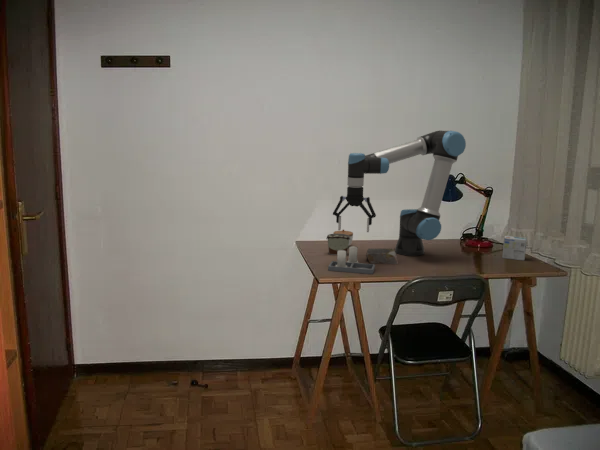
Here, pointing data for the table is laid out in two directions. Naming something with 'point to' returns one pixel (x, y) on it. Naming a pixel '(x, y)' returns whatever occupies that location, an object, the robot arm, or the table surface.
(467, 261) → the table surface
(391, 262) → the geological specimen
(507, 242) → the light bulb box
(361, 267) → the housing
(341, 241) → the food container
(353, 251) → the white pillar candle
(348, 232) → the lidded jar
